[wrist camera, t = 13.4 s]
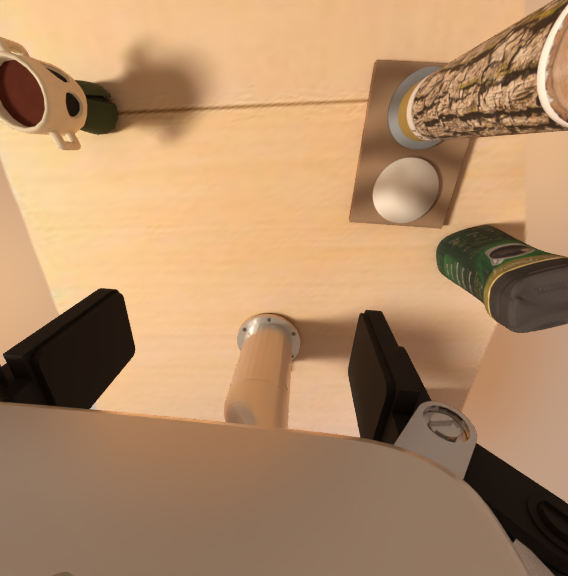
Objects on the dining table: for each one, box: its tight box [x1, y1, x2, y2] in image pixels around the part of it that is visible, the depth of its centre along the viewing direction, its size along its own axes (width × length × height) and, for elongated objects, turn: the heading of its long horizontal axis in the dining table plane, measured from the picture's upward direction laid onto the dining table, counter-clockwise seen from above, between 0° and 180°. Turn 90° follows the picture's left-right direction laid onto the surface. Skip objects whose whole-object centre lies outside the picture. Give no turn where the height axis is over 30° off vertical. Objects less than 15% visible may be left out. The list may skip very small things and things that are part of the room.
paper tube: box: [398, 0, 568, 141], centre depth 24 cm, size 7×7×25 cm
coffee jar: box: [436, 226, 568, 333], centre depth 37 cm, size 10×8×19 cm
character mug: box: [0, 37, 117, 150], centre depth 34 cm, size 11×7×13 cm, turn 19°
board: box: [349, 60, 470, 229], centre depth 39 cm, size 20×14×2 cm
